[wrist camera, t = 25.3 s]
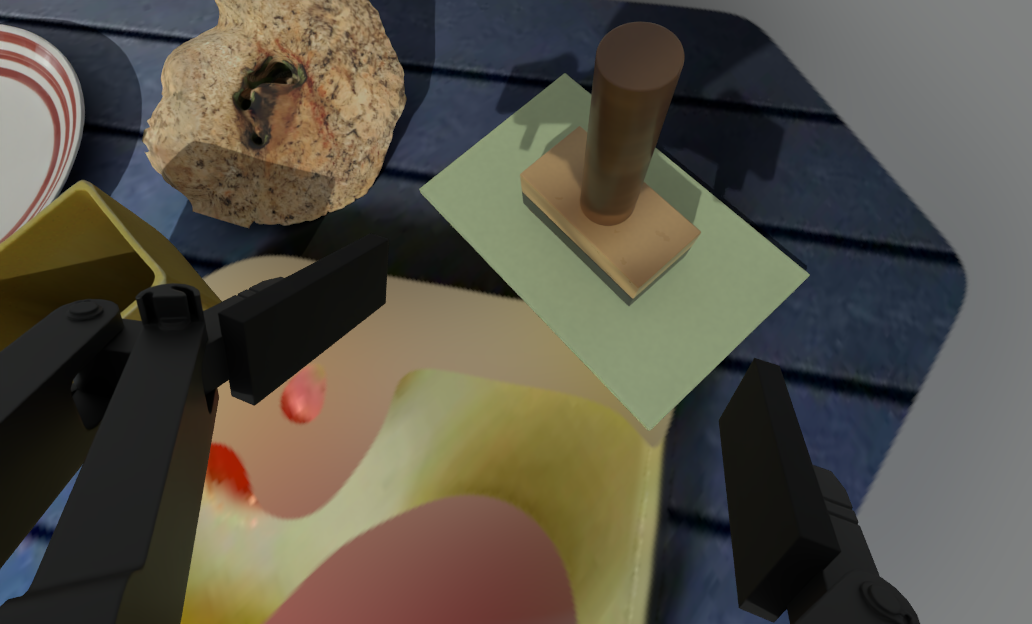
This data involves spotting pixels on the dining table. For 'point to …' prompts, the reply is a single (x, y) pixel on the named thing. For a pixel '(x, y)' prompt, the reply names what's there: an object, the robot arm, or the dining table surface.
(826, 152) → the dining table surface
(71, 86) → the dinner plate
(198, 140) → the pitted speckled stone
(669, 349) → the mat
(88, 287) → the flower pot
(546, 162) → the stamp
